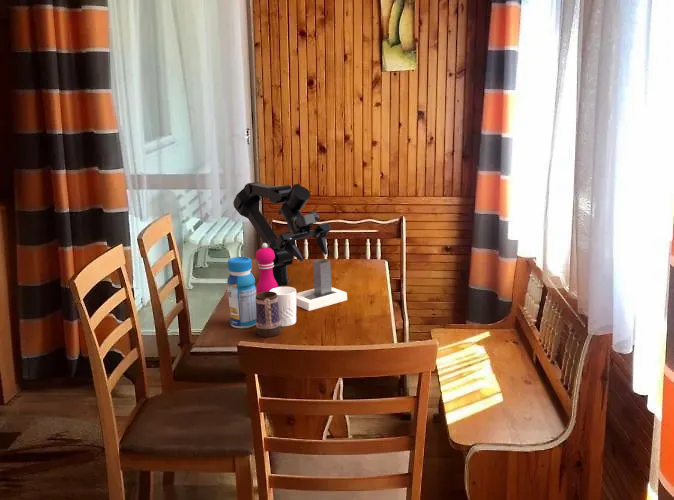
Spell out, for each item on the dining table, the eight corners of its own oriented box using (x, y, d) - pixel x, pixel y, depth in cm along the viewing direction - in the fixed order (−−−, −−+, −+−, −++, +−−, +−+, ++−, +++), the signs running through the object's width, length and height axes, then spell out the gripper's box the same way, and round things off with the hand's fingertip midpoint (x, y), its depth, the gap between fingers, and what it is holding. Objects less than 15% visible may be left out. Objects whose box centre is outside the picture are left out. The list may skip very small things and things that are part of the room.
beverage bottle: (254, 329, 217) (249, 263, 212) (226, 328, 219) (220, 263, 214) (261, 319, 225) (257, 255, 220) (235, 318, 227) (230, 255, 222)
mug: (256, 329, 217) (253, 290, 214) (281, 327, 218) (278, 288, 215) (256, 342, 207) (253, 301, 204) (281, 340, 208) (279, 299, 205)
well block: (289, 302, 240) (288, 295, 239) (326, 292, 248) (326, 285, 248) (309, 310, 231) (308, 303, 230) (347, 300, 240) (346, 292, 239)
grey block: (304, 302, 239) (302, 263, 236) (324, 297, 243) (323, 258, 240) (311, 305, 236) (309, 266, 232) (332, 300, 240) (330, 261, 237)
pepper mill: (281, 299, 243) (277, 240, 238) (277, 307, 236) (273, 245, 231) (259, 299, 244) (255, 240, 238) (255, 307, 237) (250, 246, 231)
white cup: (277, 329, 217) (275, 296, 214) (267, 321, 223) (265, 289, 221) (302, 324, 220) (300, 291, 218) (291, 316, 227) (289, 285, 224)
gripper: (276, 209, 235) (297, 251, 229) (326, 198, 244) (347, 237, 239) (266, 228, 243) (286, 268, 238) (314, 217, 253) (335, 255, 248)
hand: (314, 257), depth 240 cm, fingers open, 9 cm apart
